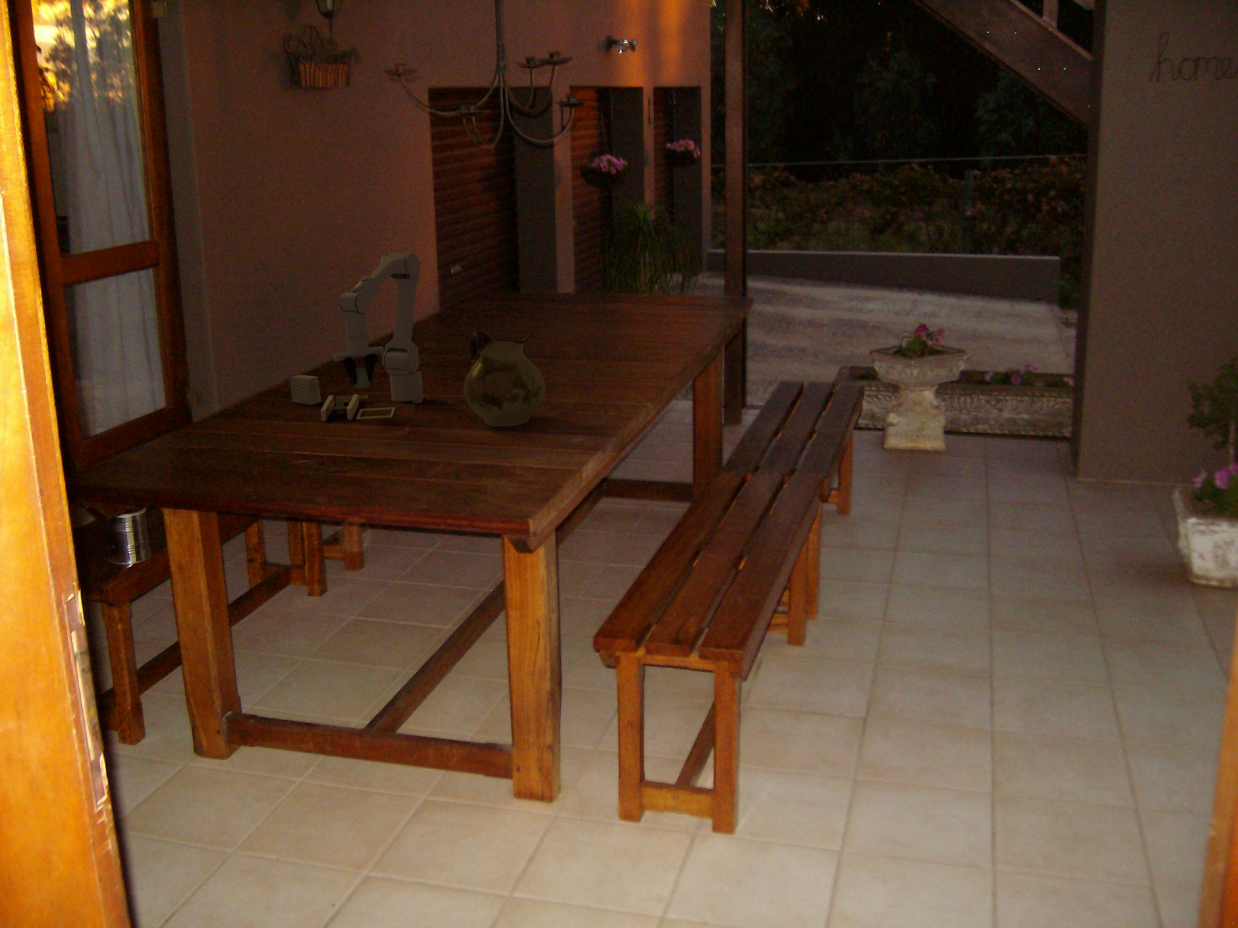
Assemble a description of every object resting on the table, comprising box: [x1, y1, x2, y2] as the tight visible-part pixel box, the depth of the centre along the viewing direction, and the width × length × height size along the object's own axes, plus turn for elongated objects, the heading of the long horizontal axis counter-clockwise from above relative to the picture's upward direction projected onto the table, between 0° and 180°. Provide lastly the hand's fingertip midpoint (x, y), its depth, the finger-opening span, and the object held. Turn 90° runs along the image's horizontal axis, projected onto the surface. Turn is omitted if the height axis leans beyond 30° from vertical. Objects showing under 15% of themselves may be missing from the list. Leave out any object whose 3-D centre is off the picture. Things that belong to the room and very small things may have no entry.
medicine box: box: [289, 374, 322, 406], centre depth 368 cm, size 8×4×9 cm, turn 58°
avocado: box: [354, 367, 371, 390], centre depth 349 cm, size 4×4×6 cm
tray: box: [355, 406, 396, 420], centre depth 353 cm, size 10×10×1 cm
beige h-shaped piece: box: [320, 393, 360, 422], centre depth 355 cm, size 8×18×4 cm, turn 5°
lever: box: [327, 394, 369, 410], centre depth 358 cm, size 9×19×4 cm, turn 5°
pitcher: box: [463, 329, 546, 428], centre depth 340 cm, size 22×24×25 cm
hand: (361, 382), depth 350 cm, fingers closed on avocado, 4 cm apart
